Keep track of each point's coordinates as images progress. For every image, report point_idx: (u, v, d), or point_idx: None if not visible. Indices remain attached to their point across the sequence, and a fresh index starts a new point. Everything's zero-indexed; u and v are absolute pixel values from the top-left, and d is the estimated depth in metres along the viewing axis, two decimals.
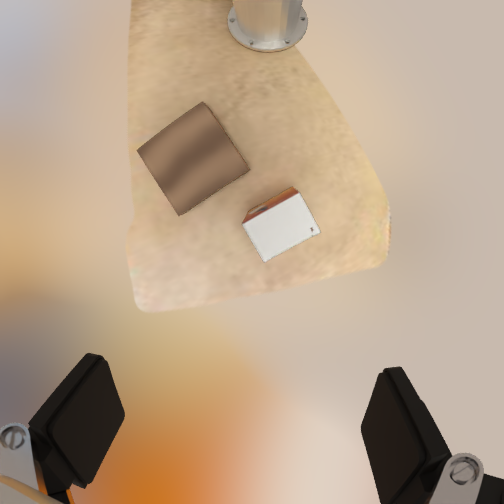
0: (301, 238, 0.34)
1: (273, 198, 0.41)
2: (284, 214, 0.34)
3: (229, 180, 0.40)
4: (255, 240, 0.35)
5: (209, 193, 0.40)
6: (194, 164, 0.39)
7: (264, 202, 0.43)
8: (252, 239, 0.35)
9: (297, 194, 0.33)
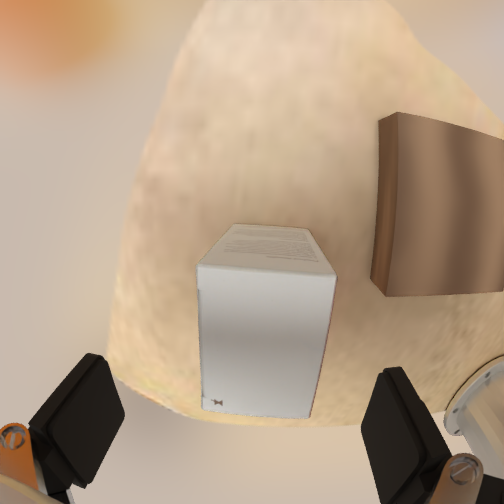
0: (209, 377, 0.12)
1: None
2: (286, 378, 0.12)
3: (394, 252, 0.17)
4: (272, 284, 0.11)
5: (399, 200, 0.16)
6: (456, 213, 0.16)
7: None
8: (279, 277, 0.11)
9: (307, 414, 0.13)
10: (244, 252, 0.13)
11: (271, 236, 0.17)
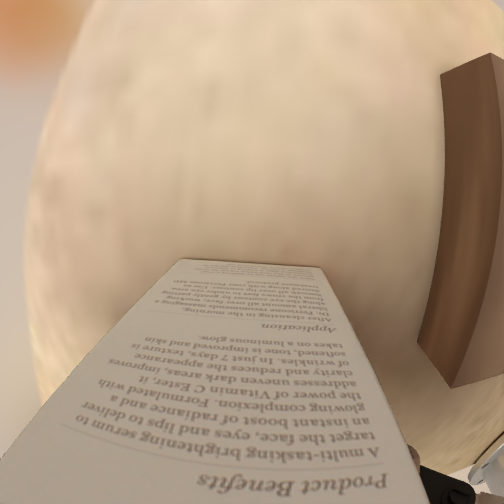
0: None
1: None
2: None
3: (481, 319, 0.07)
4: None
5: (502, 221, 0.06)
6: None
7: None
8: None
9: None
10: (131, 436, 0.03)
11: (242, 313, 0.07)
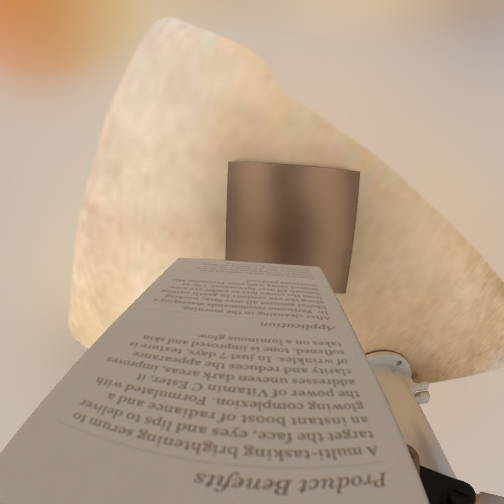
0: None
1: None
2: None
3: (227, 258, 0.28)
4: None
5: (228, 223, 0.27)
6: (279, 231, 0.27)
7: None
8: None
9: None
10: (128, 434, 0.03)
11: (241, 311, 0.07)
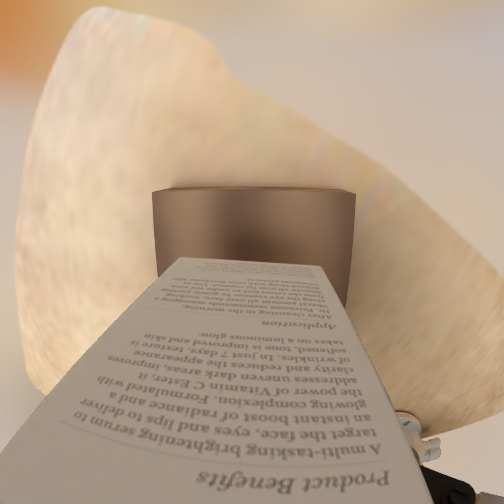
0: None
1: None
2: None
3: None
4: None
5: None
6: None
7: None
8: None
9: None
10: (130, 433, 0.03)
11: (242, 310, 0.07)
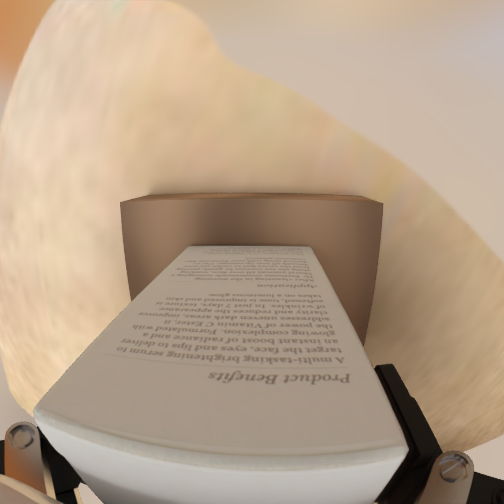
0: None
1: None
2: None
3: None
4: (218, 485, 0.03)
5: None
6: None
7: None
8: (235, 477, 0.03)
9: None
10: (160, 354, 0.05)
11: (242, 278, 0.09)
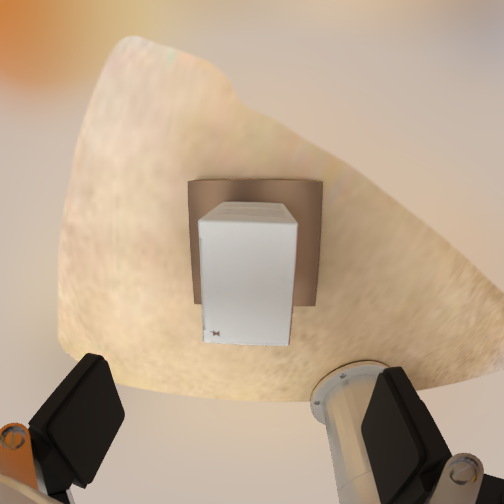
0: (209, 310, 0.17)
1: None
2: (267, 307, 0.17)
3: (194, 275, 0.28)
4: (252, 231, 0.16)
5: (192, 242, 0.27)
6: None
7: None
8: (257, 226, 0.16)
9: (287, 341, 0.17)
10: (232, 214, 0.18)
11: (252, 206, 0.21)
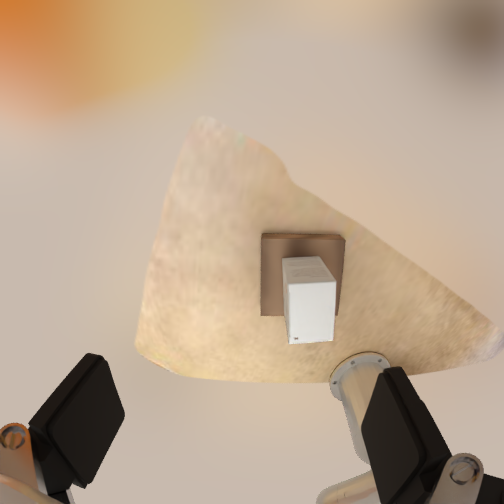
0: (293, 326, 0.33)
1: None
2: (322, 322, 0.32)
3: (262, 297, 0.43)
4: (315, 287, 0.31)
5: (262, 276, 0.42)
6: None
7: None
8: (317, 284, 0.31)
9: (332, 338, 0.33)
10: (300, 276, 0.33)
11: (305, 265, 0.37)
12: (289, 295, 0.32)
